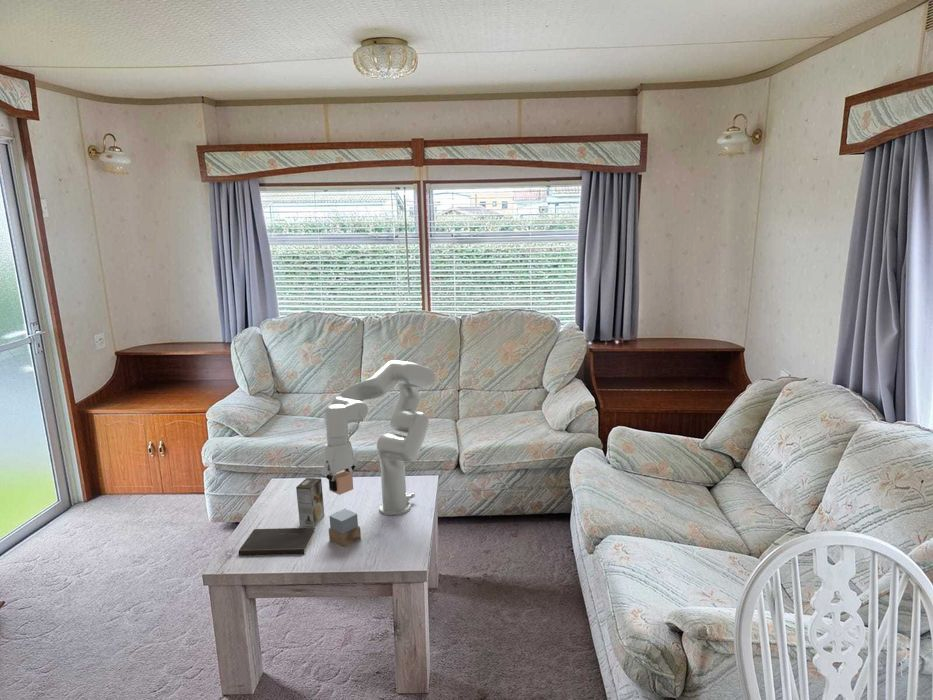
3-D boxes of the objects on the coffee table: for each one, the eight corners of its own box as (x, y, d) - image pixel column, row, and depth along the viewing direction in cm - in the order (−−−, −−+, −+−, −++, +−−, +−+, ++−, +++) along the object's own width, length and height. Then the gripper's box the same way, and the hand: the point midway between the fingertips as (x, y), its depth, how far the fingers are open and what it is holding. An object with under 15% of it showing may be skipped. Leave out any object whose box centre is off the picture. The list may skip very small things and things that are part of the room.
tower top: (345, 521, 221) (344, 508, 220) (358, 526, 216) (357, 513, 215) (330, 528, 215) (329, 515, 214) (342, 534, 211) (341, 521, 210)
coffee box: (309, 514, 237) (306, 477, 234) (324, 516, 236) (321, 478, 232) (299, 525, 228) (295, 486, 225) (314, 527, 227) (311, 487, 224)
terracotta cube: (342, 484, 217) (341, 469, 216) (353, 489, 213) (352, 473, 212) (329, 490, 213) (328, 474, 212) (339, 494, 209) (338, 478, 208)
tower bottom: (347, 532, 222) (346, 520, 221) (361, 539, 217) (360, 526, 216) (329, 541, 216) (328, 528, 215) (343, 548, 211) (342, 535, 210)
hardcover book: (254, 534, 224) (254, 528, 223) (315, 533, 223) (315, 527, 223) (238, 557, 208) (238, 551, 207) (304, 555, 208) (303, 549, 207)
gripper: (350, 430, 218) (353, 477, 222) (311, 443, 205) (314, 492, 209) (364, 434, 213) (366, 482, 217) (324, 448, 201) (327, 498, 204)
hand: (341, 486), depth 213 cm, fingers closed on terracotta cube, 6 cm apart
